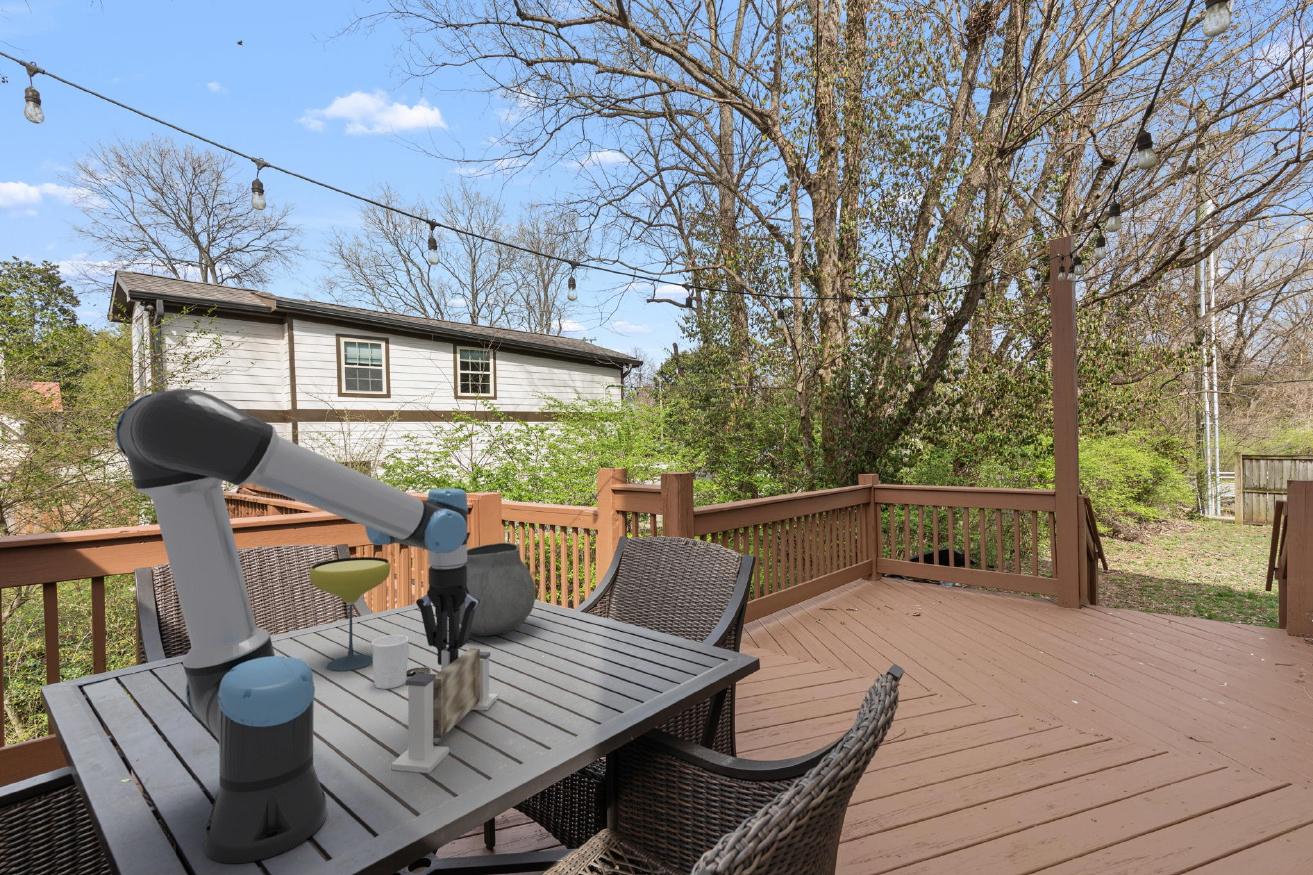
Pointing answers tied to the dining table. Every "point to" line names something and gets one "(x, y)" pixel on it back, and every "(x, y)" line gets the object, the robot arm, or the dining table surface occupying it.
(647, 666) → the dining table surface
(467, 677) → the gate
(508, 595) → the ceramic pot
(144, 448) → the robot arm
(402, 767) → the hinge post
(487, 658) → the latch post
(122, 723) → the dining table surface
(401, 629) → the dining table surface
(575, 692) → the dining table surface
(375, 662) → the white cup
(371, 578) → the cocktail glass
